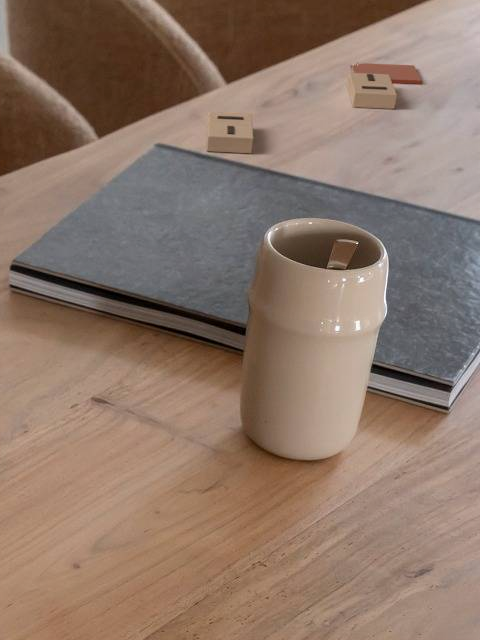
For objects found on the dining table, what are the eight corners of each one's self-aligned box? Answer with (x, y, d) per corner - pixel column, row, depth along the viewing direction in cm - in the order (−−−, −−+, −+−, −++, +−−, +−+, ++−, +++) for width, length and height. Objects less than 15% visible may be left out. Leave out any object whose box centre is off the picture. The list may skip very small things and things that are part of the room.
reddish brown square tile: (413, 68, 134) (414, 65, 134) (420, 84, 129) (421, 80, 129) (350, 66, 135) (351, 62, 135) (355, 81, 130) (355, 77, 130)
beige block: (386, 88, 128) (389, 72, 128) (394, 109, 123) (397, 93, 122) (346, 86, 129) (349, 71, 128) (352, 107, 123) (355, 91, 122)
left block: (249, 128, 118) (252, 112, 117) (251, 153, 112) (253, 136, 111) (206, 126, 118) (208, 110, 118) (206, 151, 113) (208, 134, 112)
